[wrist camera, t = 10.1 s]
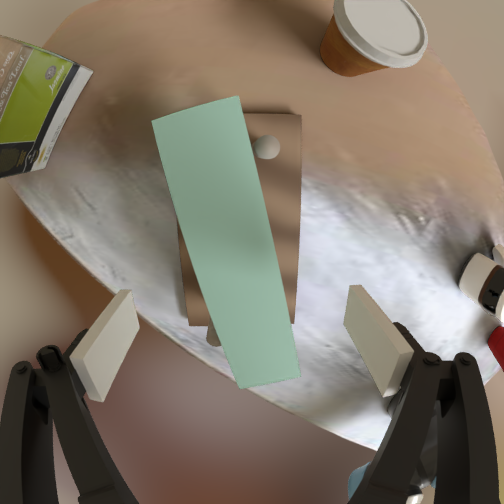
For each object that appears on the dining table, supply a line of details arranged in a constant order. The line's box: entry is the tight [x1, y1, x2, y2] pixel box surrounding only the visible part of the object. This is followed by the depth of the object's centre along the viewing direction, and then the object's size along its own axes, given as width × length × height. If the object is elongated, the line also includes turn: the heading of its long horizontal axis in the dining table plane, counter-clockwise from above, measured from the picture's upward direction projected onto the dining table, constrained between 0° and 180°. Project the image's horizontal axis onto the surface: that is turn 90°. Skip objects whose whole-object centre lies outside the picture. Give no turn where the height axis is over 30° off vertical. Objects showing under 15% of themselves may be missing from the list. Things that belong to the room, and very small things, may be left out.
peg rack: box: [177, 114, 302, 347], centre depth 28 cm, size 26×14×10 cm, turn 0°
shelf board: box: [151, 96, 301, 389], centre depth 22 cm, size 24×6×4 cm, turn 13°
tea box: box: [0, 35, 93, 178], centre depth 19 cm, size 15×10×15 cm, turn 145°
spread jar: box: [458, 244, 504, 323], centre depth 31 cm, size 12×11×12 cm
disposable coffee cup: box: [320, 0, 428, 77], centre depth 20 cm, size 10×10×12 cm
